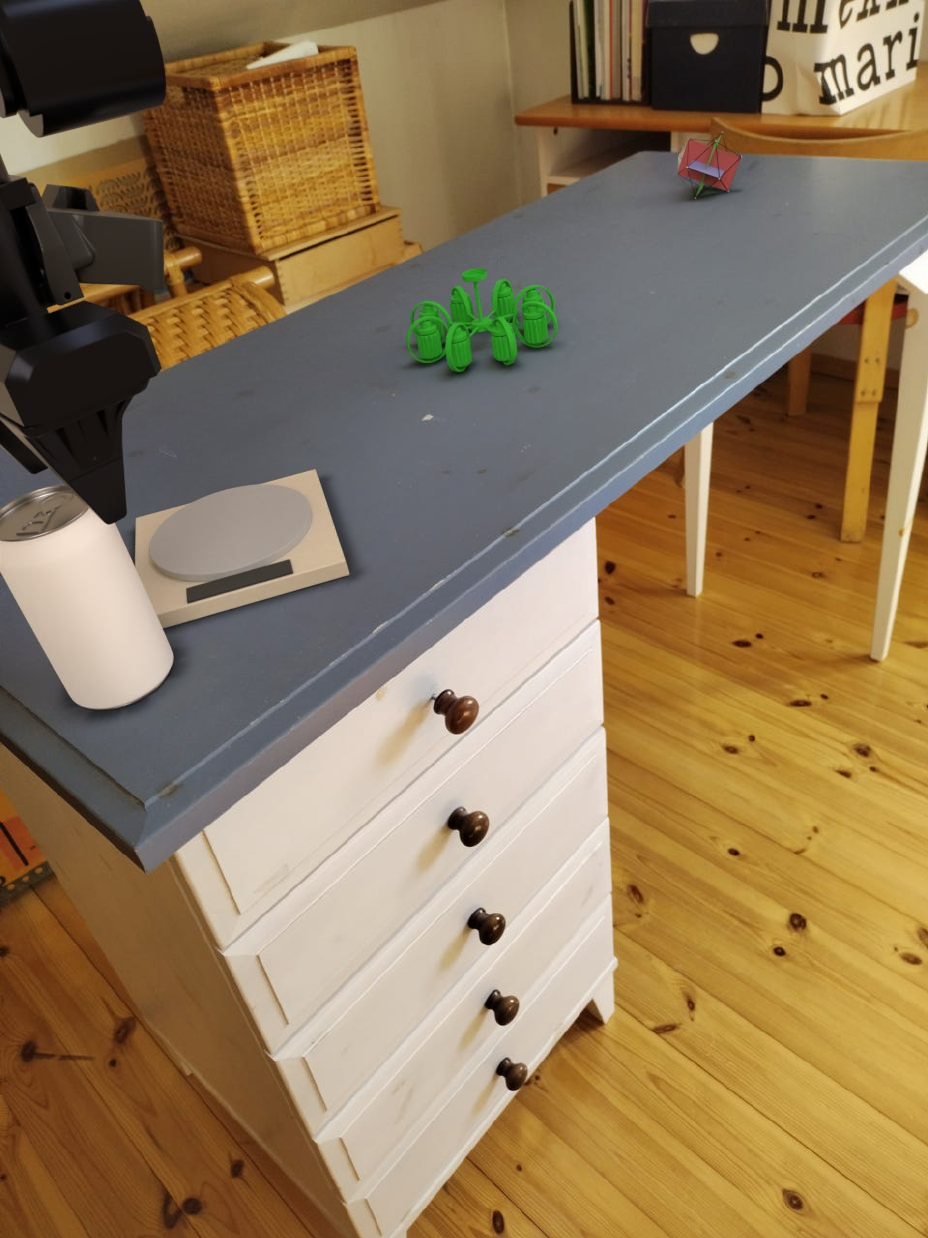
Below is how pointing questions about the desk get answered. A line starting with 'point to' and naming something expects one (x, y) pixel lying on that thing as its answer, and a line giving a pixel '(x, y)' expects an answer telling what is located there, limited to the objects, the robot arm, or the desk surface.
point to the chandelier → (481, 323)
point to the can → (82, 599)
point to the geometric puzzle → (707, 164)
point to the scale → (237, 548)
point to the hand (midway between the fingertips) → (76, 493)
